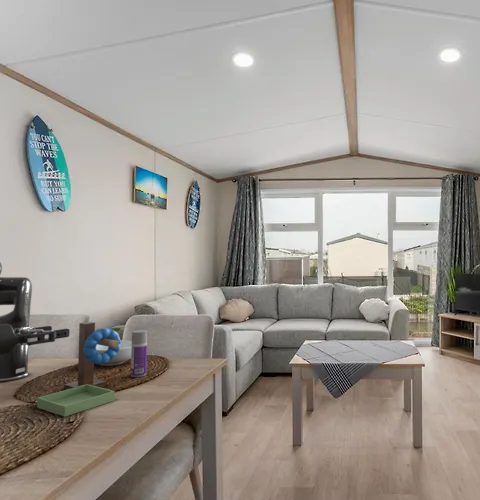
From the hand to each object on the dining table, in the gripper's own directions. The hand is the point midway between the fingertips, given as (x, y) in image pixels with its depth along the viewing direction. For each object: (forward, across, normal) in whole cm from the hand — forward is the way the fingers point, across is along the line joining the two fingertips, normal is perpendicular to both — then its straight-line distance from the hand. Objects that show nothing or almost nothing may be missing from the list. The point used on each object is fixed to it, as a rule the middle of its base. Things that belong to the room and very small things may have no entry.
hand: (59, 331), depth 108 cm
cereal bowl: (+33, +28, +20) cm, 48 cm away
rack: (+12, +3, +20) cm, 24 cm away
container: (+28, +6, +20) cm, 35 cm away
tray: (+3, -3, +20) cm, 21 cm away
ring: (+12, 0, +6) cm, 14 cm away
